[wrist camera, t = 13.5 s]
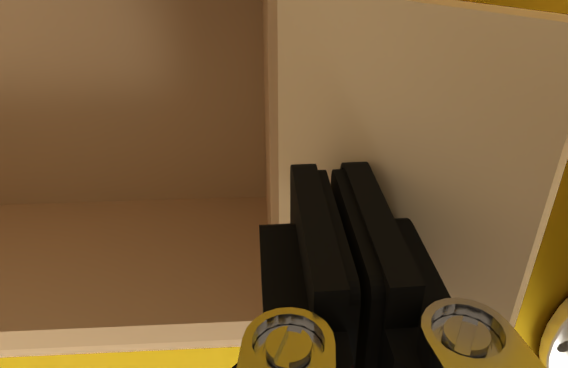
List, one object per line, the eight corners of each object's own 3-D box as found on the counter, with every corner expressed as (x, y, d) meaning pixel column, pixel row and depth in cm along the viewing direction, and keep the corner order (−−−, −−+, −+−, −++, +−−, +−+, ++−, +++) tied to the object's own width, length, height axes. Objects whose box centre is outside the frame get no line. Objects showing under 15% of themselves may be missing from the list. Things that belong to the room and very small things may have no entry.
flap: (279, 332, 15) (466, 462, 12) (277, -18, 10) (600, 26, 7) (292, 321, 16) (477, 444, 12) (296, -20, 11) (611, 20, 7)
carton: (282, -104, 17) (305, -104, 10) (283, 216, 24) (297, 348, 17) (-272, -103, 16) (-664, -104, 9) (-112, 229, 23) (-271, 374, 16)
